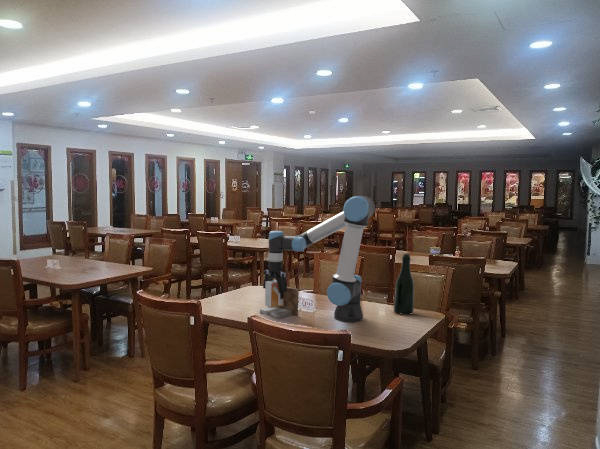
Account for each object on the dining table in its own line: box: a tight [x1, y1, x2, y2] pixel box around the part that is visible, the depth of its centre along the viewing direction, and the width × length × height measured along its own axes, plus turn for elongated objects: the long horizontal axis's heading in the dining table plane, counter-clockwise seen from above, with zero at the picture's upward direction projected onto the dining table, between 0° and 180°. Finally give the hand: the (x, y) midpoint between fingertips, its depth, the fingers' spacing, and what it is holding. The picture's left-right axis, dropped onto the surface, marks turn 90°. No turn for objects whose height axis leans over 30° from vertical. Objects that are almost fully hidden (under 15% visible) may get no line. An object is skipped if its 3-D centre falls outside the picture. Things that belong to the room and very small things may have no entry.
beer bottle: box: [393, 253, 415, 315], centre depth 260 cm, size 10×10×33 cm
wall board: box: [259, 286, 300, 319], centre depth 251 cm, size 20×11×14 cm, turn 51°
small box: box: [264, 279, 284, 308], centre depth 249 cm, size 8×6×13 cm
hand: (274, 303), depth 249 cm, fingers closed on small box, 7 cm apart
